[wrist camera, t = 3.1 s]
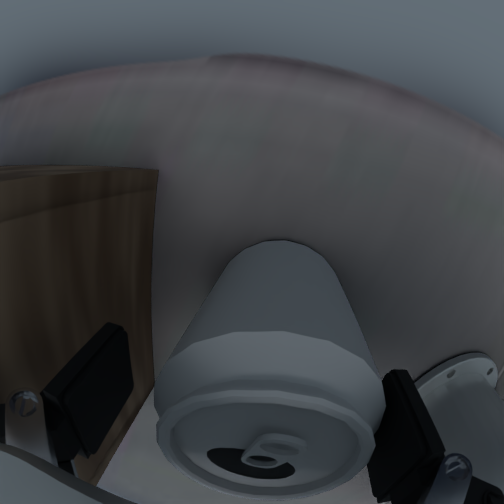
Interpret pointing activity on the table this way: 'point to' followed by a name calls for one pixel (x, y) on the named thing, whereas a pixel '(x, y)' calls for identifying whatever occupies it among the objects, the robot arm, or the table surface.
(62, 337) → the trapdoor frame
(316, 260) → the can
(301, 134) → the table surface
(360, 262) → the table surface
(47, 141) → the table surface
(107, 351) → the robot arm
